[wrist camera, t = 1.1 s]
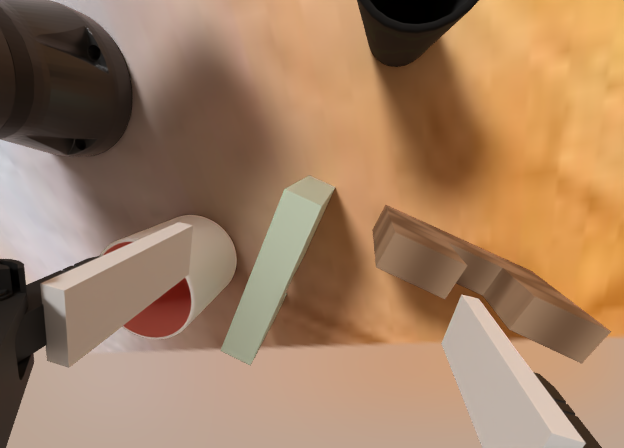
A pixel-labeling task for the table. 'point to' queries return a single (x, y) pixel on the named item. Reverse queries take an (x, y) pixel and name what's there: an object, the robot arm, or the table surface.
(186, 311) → the cup
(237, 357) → the sage plate
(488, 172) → the table surface
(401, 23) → the cup
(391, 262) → the walnut stand
